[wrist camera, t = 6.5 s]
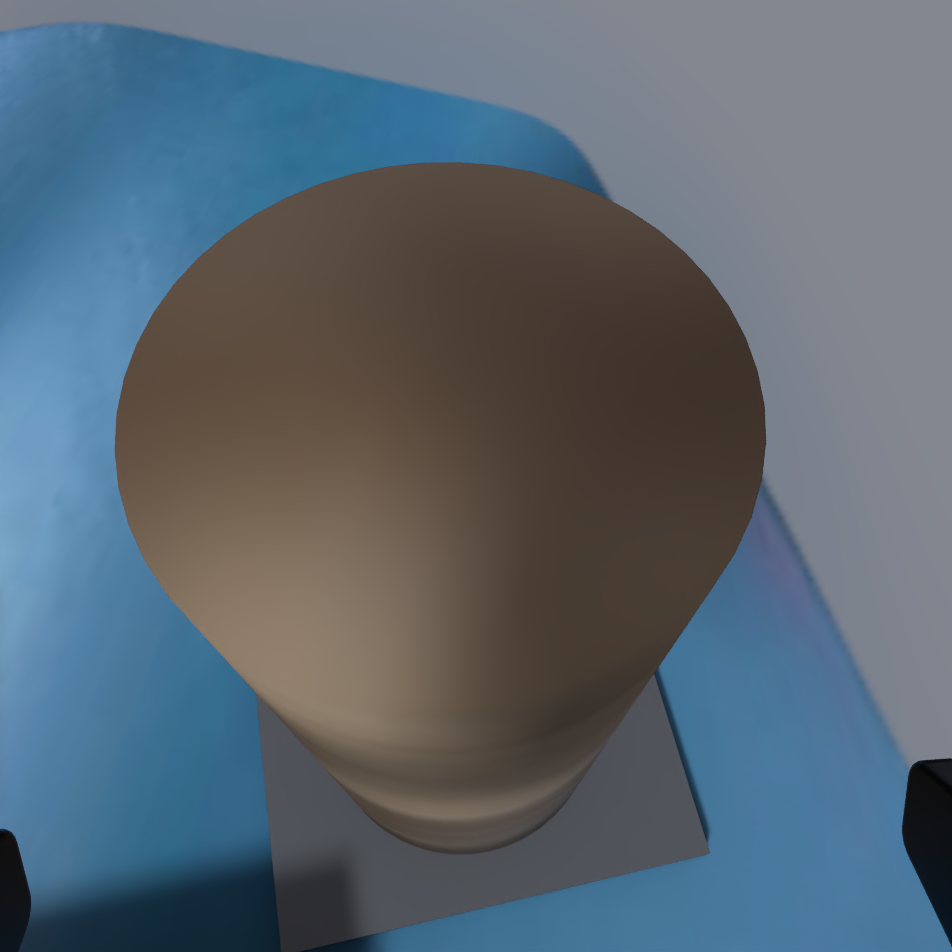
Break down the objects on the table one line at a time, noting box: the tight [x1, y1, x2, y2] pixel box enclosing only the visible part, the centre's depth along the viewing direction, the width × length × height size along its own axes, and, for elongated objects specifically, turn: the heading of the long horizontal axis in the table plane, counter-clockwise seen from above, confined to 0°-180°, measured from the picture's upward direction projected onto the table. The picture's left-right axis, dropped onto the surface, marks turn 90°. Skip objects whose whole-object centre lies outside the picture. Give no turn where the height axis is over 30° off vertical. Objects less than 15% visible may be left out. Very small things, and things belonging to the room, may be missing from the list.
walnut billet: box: [115, 162, 766, 855], centre depth 14 cm, size 6×6×13 cm
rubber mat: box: [256, 674, 710, 952], centre depth 20 cm, size 9×9×1 cm
